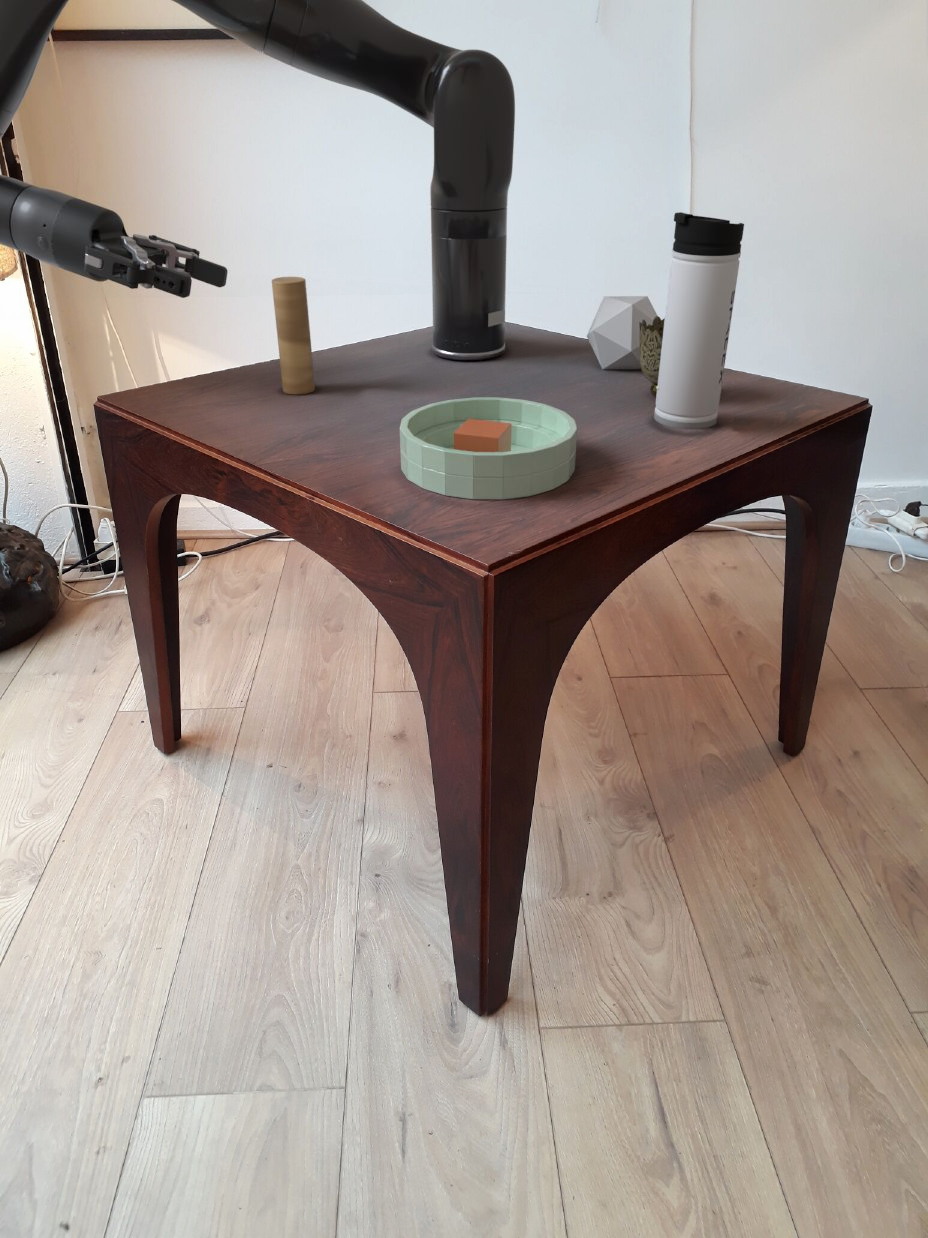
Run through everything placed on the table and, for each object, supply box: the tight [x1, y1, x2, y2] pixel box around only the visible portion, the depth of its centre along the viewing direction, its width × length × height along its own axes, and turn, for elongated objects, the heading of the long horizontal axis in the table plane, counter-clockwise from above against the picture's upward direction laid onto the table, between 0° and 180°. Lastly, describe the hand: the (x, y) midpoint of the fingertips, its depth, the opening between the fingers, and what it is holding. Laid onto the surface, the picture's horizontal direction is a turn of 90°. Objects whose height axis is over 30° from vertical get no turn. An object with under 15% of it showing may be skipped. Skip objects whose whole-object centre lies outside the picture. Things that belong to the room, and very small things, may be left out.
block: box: [454, 419, 512, 452], centre depth 79 cm, size 4×4×4 cm
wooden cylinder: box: [271, 276, 316, 396], centre depth 100 cm, size 4×4×12 cm
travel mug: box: [653, 212, 745, 430], centre depth 88 cm, size 6×7×20 cm
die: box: [586, 295, 658, 370], centre depth 110 cm, size 8×9×10 cm
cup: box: [639, 315, 665, 398], centre depth 99 cm, size 8×7×8 cm
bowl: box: [399, 396, 578, 501], centre depth 81 cm, size 15×15×4 cm
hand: (208, 282), depth 97 cm, fingers open, 8 cm apart
